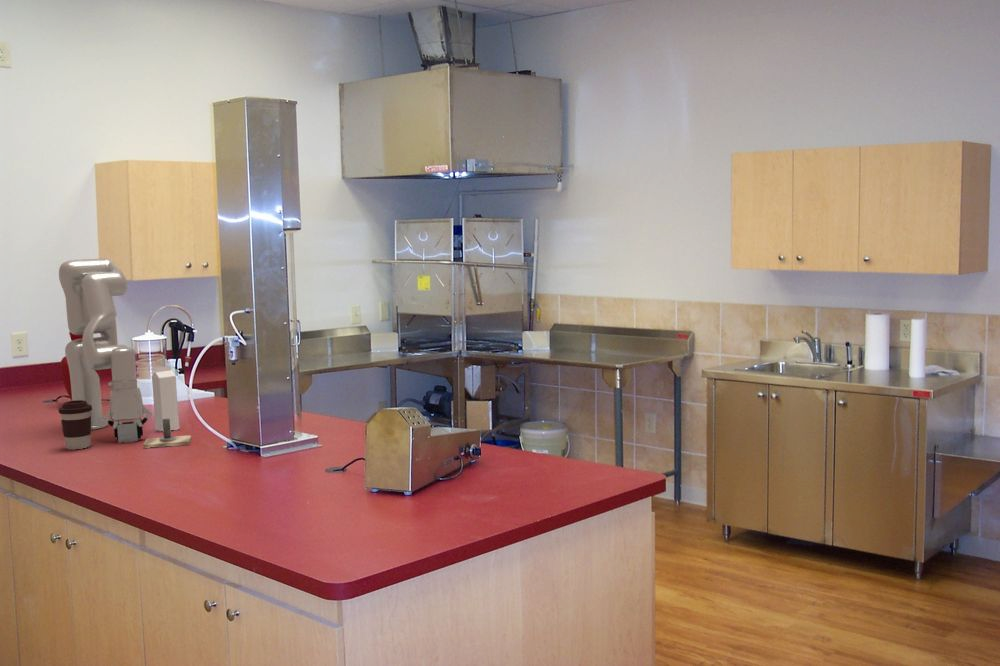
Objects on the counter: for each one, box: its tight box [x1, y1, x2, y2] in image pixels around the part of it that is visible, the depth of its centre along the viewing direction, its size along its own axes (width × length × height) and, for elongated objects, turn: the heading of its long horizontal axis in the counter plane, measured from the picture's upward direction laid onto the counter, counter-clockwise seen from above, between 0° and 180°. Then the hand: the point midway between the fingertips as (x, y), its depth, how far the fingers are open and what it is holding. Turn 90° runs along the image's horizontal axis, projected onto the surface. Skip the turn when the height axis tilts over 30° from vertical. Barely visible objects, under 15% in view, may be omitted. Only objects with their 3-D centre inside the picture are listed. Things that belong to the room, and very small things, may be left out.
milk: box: [151, 365, 180, 432], centre depth 357 cm, size 6×6×22 cm
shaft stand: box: [143, 419, 192, 449], centre depth 335 cm, size 14×10×8 cm
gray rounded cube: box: [117, 420, 140, 444], centre depth 342 cm, size 6×6×6 cm
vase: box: [60, 331, 102, 401], centre depth 410 cm, size 15×15×30 cm
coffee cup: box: [58, 400, 92, 451], centre depth 333 cm, size 10×10×15 cm
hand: (129, 438), depth 342 cm, fingers closed on gray rounded cube, 6 cm apart
